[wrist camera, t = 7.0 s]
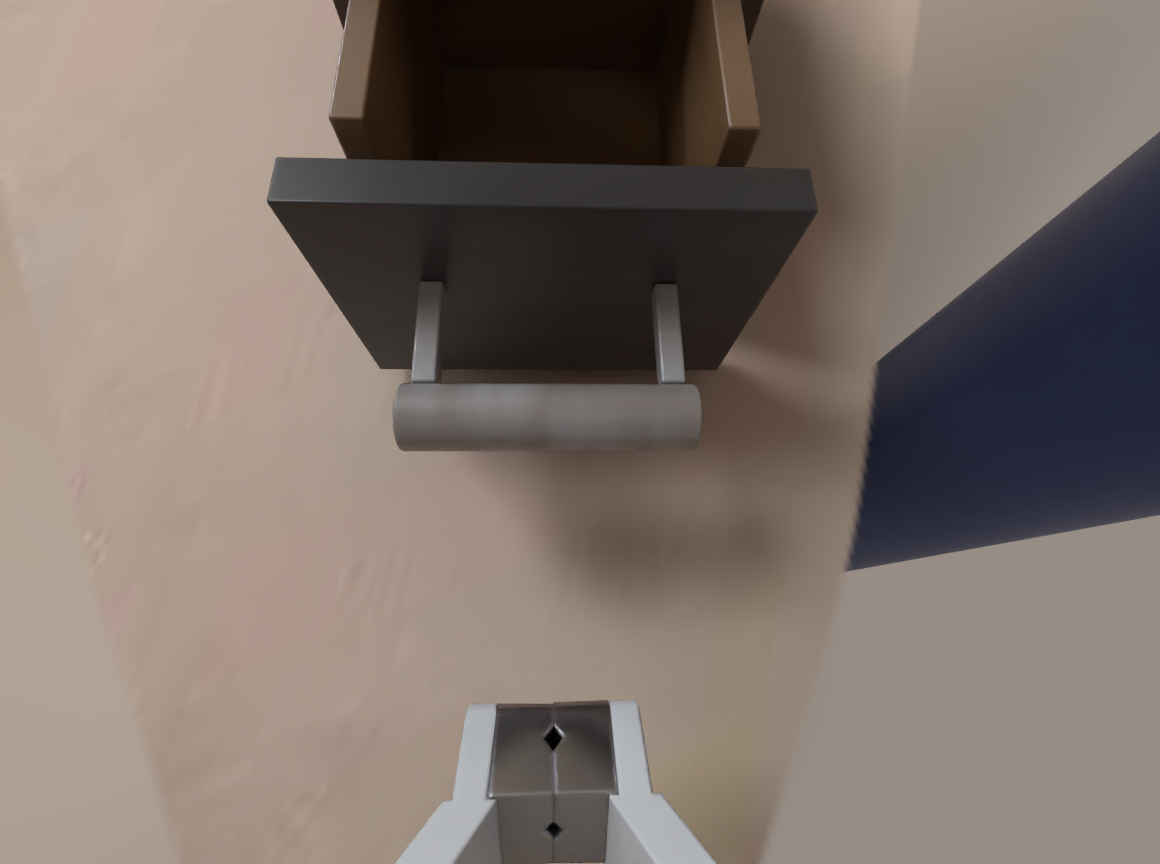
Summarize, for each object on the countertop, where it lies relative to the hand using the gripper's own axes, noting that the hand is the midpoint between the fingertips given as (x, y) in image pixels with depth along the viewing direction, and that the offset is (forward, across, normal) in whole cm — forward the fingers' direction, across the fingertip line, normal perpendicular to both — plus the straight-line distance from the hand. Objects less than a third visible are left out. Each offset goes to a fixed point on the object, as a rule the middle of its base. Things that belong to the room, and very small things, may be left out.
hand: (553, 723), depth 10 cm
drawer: (+15, 0, -6) cm, 16 cm away
